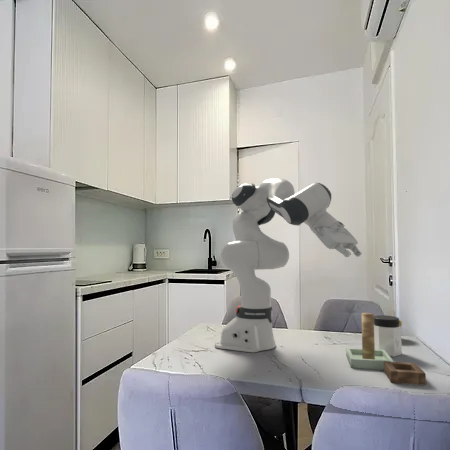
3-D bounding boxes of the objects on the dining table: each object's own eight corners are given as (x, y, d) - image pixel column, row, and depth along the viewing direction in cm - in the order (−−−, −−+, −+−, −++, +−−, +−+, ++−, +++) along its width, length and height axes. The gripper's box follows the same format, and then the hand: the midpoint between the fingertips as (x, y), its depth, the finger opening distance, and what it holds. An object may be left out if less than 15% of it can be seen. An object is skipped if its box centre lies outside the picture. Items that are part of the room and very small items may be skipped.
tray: (351, 367, 103) (350, 359, 104) (346, 355, 115) (346, 347, 115) (394, 370, 101) (394, 361, 101) (384, 357, 112) (384, 350, 113)
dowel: (363, 360, 107) (362, 314, 108) (361, 357, 110) (360, 312, 111) (375, 361, 106) (374, 315, 107) (373, 357, 109) (372, 313, 110)
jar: (391, 358, 112) (389, 320, 113) (368, 352, 119) (367, 316, 120) (406, 353, 117) (404, 317, 118) (383, 348, 124) (382, 314, 124)
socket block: (391, 382, 92) (390, 371, 92) (384, 371, 100) (383, 361, 100) (426, 385, 90) (425, 373, 90) (415, 373, 98) (415, 363, 98)
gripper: (318, 219, 115) (348, 248, 107) (343, 223, 130) (371, 248, 123) (306, 233, 117) (335, 262, 110) (332, 235, 132) (359, 261, 125)
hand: (354, 255), depth 116 cm, fingers open, 8 cm apart
